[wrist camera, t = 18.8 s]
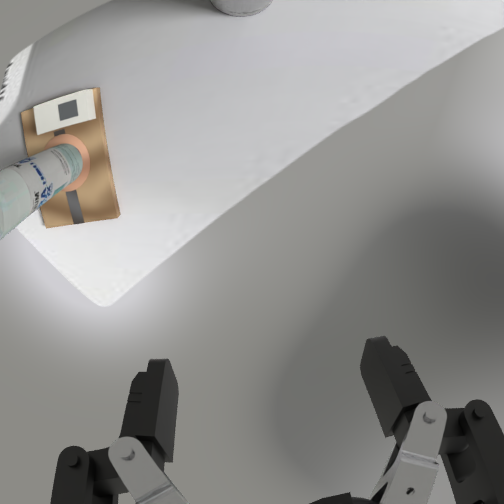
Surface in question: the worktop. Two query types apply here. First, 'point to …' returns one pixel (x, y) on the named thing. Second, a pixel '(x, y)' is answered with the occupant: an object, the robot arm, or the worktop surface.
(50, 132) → the plywood panel
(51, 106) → the block
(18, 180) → the spray paint can
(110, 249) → the worktop surface
